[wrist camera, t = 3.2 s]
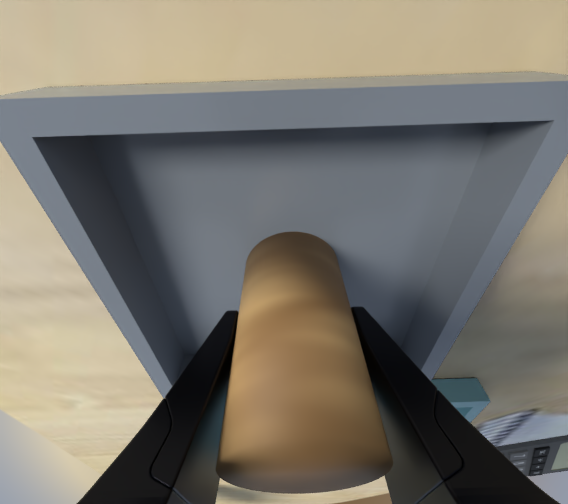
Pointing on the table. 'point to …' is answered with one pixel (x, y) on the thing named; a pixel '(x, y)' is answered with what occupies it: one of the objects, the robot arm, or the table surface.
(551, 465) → the calculator
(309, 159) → the shallow gray bin
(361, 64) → the table surface
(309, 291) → the wooden peg
